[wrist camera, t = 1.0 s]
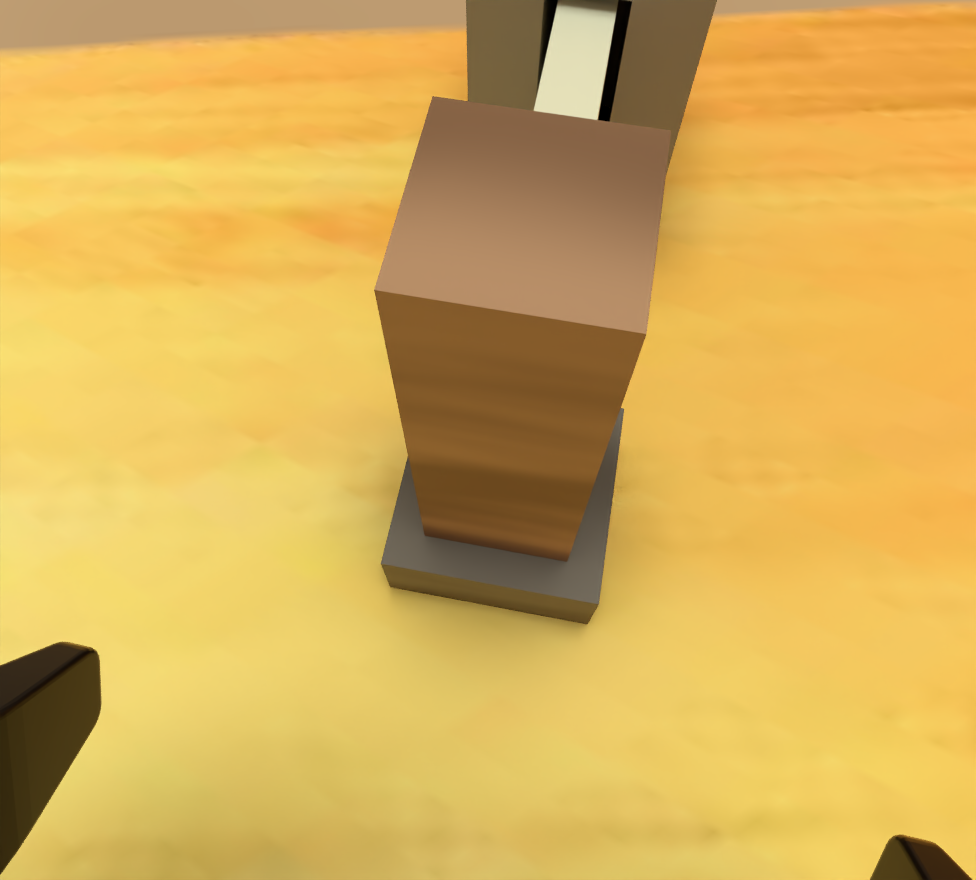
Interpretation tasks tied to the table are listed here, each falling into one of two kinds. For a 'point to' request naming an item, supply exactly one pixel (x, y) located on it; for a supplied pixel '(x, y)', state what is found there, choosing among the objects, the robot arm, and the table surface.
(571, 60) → the pocket door
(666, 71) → the pocket wall
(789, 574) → the table surface
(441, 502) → the wooden post on base
